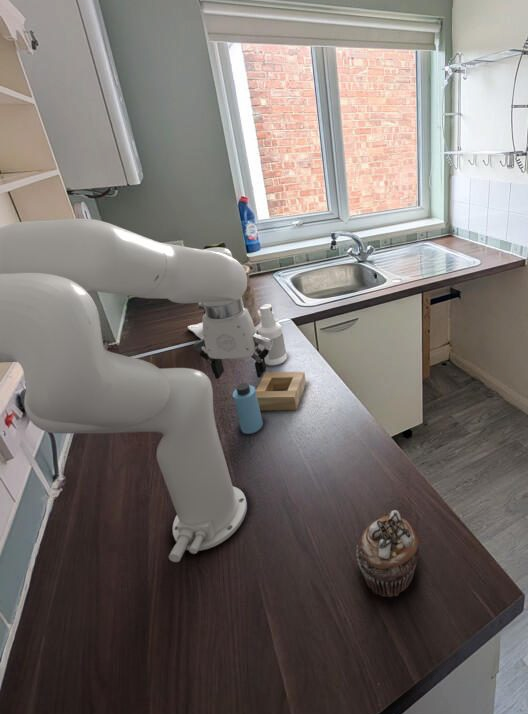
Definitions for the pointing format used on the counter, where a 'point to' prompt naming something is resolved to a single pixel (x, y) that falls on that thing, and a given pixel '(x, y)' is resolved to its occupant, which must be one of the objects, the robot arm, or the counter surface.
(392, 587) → the cupcake
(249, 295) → the cookie jar
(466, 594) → the counter surface
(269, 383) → the square wooden frame
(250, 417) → the bottle
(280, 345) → the spray bottle
